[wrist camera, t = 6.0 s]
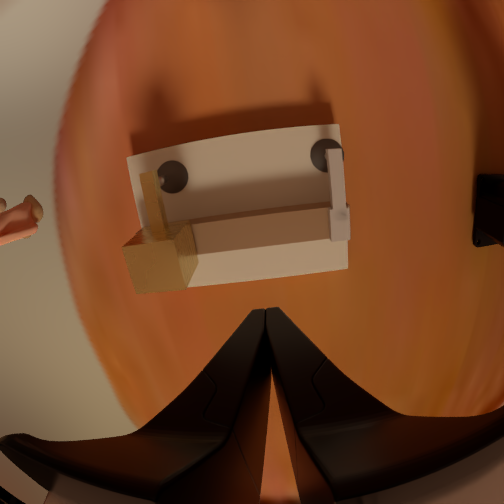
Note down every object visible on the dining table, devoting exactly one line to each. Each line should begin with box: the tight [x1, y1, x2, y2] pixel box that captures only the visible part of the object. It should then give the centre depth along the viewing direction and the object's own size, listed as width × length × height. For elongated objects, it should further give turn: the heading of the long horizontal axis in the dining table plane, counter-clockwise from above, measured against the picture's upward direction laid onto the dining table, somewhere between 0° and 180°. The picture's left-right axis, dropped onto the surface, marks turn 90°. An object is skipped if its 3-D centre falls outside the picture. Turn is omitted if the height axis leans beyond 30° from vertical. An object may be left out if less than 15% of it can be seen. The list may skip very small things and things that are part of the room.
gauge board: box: [127, 124, 351, 287], centre depth 18 cm, size 14×10×3 cm
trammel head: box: [122, 169, 199, 294], centre depth 16 cm, size 3×6×5 cm, turn 8°
